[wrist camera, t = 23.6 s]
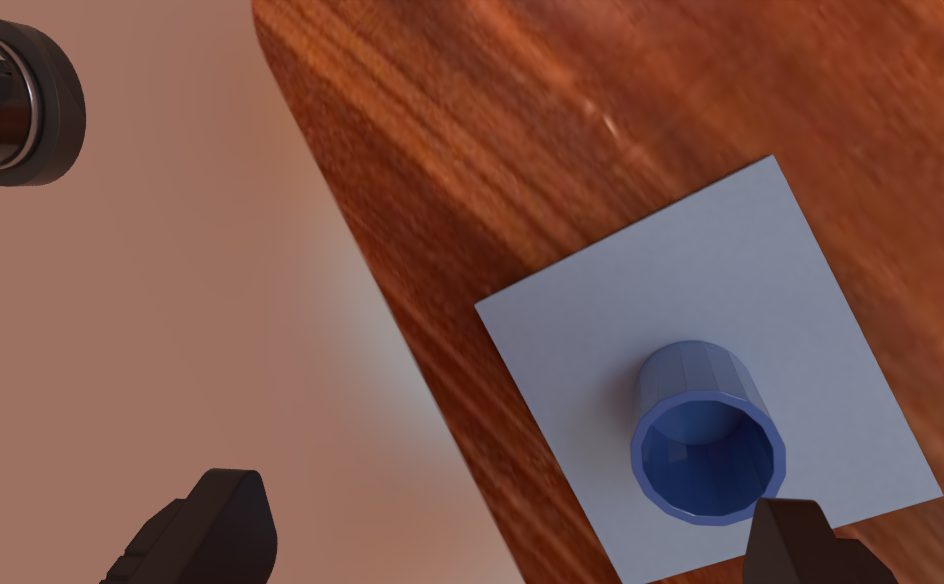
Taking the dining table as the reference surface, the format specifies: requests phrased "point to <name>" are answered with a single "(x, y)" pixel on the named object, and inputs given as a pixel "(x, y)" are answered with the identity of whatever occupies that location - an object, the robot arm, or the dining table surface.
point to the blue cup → (703, 436)
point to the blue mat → (719, 322)
